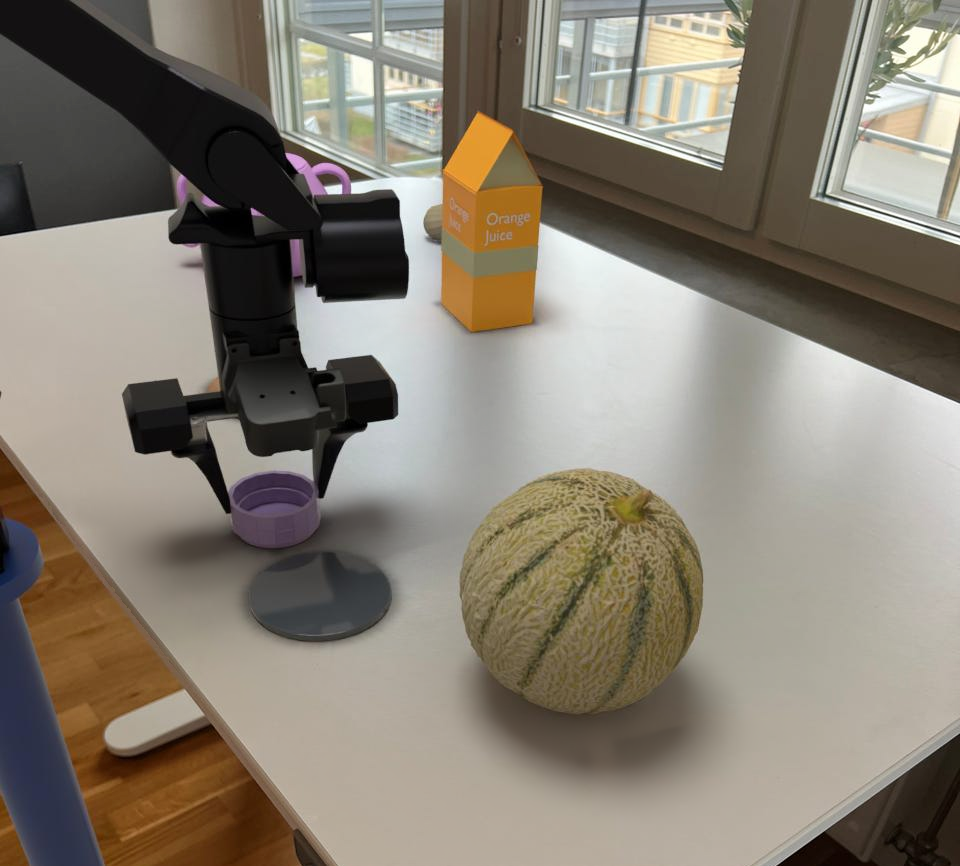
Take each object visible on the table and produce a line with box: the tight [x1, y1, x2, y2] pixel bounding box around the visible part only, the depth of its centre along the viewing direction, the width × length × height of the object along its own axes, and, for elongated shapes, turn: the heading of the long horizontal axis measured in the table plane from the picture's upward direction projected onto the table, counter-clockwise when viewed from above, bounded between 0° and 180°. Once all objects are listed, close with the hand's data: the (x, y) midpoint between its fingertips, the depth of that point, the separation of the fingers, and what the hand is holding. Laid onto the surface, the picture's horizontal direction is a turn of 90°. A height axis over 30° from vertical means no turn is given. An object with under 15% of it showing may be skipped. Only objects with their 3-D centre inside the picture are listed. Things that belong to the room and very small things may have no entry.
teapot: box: [176, 152, 352, 278], centre depth 117 cm, size 22×22×14 cm
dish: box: [228, 470, 322, 549], centre depth 77 cm, size 7×7×3 cm
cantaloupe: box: [459, 467, 704, 715], centre depth 60 cm, size 15×15×15 cm
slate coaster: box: [248, 551, 392, 642], centre depth 71 cm, size 10×10×1 cm
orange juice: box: [440, 110, 544, 333], centre depth 106 cm, size 8×9×20 cm
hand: (274, 503), depth 76 cm, fingers closed on dish, 7 cm apart
